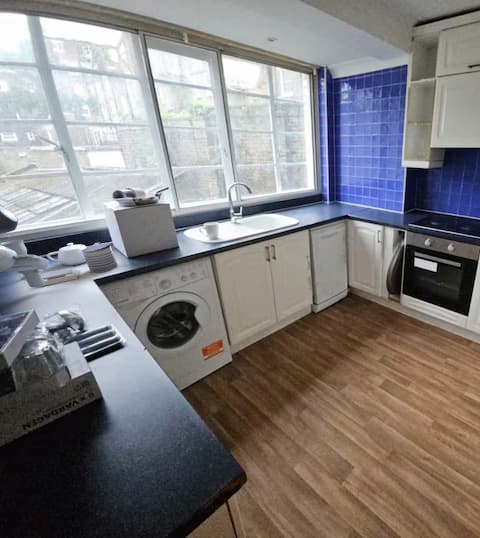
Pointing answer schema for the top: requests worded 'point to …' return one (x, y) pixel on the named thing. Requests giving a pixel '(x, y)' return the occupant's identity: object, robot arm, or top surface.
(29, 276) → the beverage can
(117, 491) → the top surface
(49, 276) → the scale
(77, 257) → the teapot
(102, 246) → the grey ribbed cylinder
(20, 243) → the chalice
